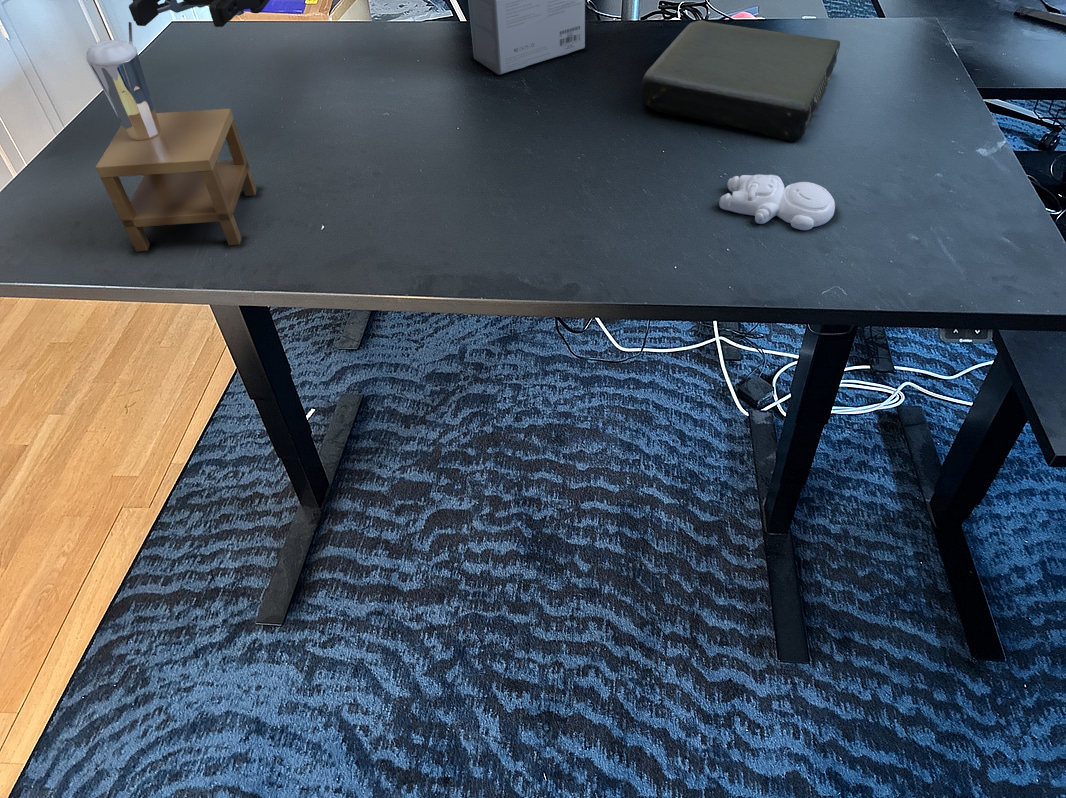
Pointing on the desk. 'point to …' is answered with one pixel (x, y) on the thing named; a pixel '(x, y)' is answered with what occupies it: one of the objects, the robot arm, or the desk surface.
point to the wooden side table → (179, 174)
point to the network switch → (742, 78)
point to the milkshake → (125, 86)
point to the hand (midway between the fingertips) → (175, 16)
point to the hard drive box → (525, 31)
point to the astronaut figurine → (779, 200)
